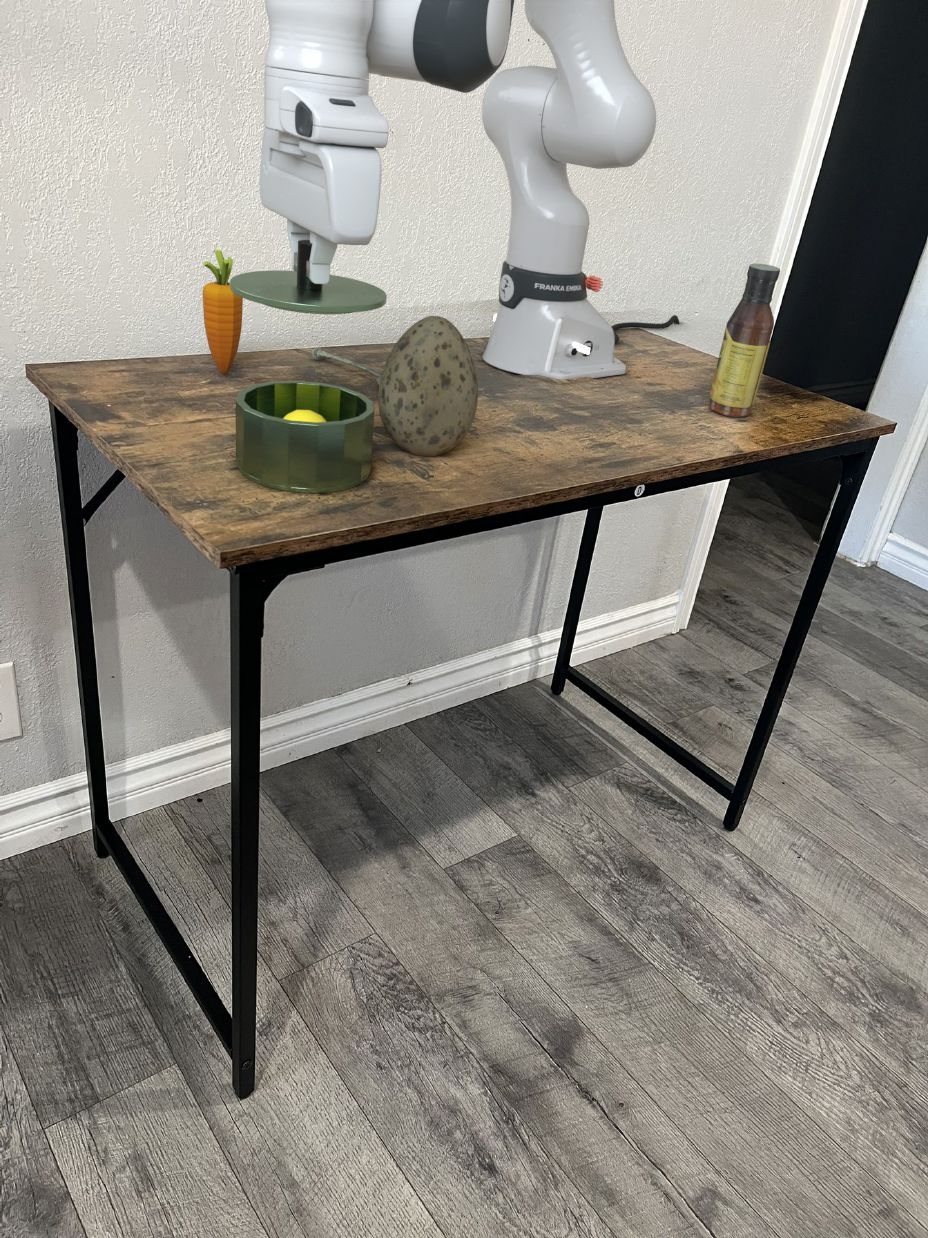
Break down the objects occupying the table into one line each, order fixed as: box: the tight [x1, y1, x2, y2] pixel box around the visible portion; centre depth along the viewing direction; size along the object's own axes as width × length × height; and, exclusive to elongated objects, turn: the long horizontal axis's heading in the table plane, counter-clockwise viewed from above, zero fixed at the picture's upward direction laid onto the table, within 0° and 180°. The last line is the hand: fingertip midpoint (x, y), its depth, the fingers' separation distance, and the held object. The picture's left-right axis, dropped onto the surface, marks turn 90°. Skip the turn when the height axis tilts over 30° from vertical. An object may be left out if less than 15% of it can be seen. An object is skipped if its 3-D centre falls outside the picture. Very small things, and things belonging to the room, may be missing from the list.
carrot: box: [202, 249, 244, 376], centre depth 118 cm, size 5×5×15 cm
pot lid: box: [229, 240, 388, 315], centre depth 88 cm, size 15×15×5 cm
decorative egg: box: [377, 315, 479, 457], centre depth 102 cm, size 11×11×15 cm
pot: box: [235, 380, 375, 494], centre depth 96 cm, size 14×14×7 cm
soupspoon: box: [311, 347, 382, 385], centre depth 126 cm, size 22×3×7 cm
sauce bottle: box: [708, 263, 781, 418], centre depth 129 cm, size 7×6×20 cm
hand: (310, 277), depth 89 cm, fingers closed on pot lid, 2 cm apart
